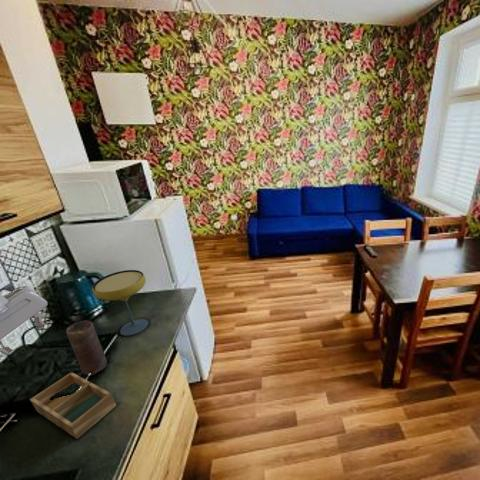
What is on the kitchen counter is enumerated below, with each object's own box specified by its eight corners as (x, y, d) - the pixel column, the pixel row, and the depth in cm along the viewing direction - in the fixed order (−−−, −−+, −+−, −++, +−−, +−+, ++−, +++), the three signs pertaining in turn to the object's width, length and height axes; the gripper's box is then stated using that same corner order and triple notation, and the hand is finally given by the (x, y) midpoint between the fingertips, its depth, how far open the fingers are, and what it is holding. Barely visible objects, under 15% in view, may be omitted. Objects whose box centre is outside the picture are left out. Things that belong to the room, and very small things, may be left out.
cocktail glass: (101, 344, 111) (80, 294, 102) (122, 316, 128) (106, 271, 118) (148, 338, 115) (132, 289, 105) (163, 312, 131) (150, 268, 121)
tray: (36, 411, 85) (29, 399, 83) (77, 383, 94) (71, 371, 92) (77, 439, 78) (70, 426, 75) (116, 405, 87) (111, 393, 85)
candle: (104, 358, 105) (88, 317, 97) (112, 367, 101) (95, 325, 93) (80, 371, 99) (60, 328, 92) (87, 381, 95) (67, 337, 88)
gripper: (19, 284, 85) (54, 314, 91) (-70, 338, 68) (-19, 370, 75) (30, 281, 83) (65, 311, 89) (-59, 336, 66) (-8, 369, 72)
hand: (26, 338), depth 82 cm, fingers open, 8 cm apart
